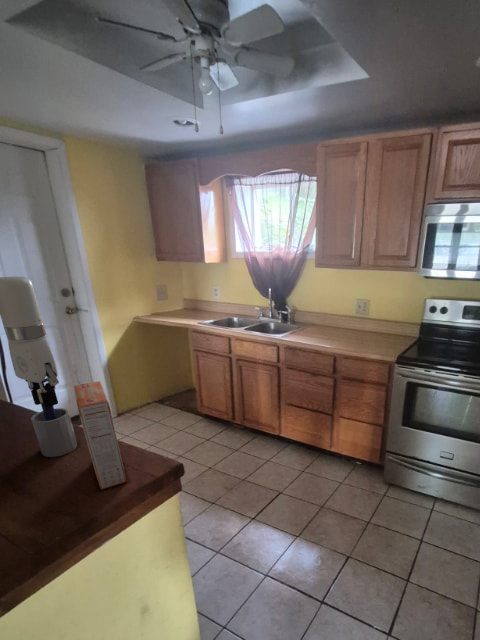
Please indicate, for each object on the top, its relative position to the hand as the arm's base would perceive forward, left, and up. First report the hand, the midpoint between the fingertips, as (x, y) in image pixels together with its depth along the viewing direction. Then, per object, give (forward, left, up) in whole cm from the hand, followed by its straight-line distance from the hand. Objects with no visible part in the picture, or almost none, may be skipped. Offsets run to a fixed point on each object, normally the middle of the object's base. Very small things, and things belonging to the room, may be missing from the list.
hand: (46, 403), depth 94 cm
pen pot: (0, 0, -13) cm, 13 cm away
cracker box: (+18, -11, -13) cm, 25 cm away
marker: (0, 0, -7) cm, 7 cm away
